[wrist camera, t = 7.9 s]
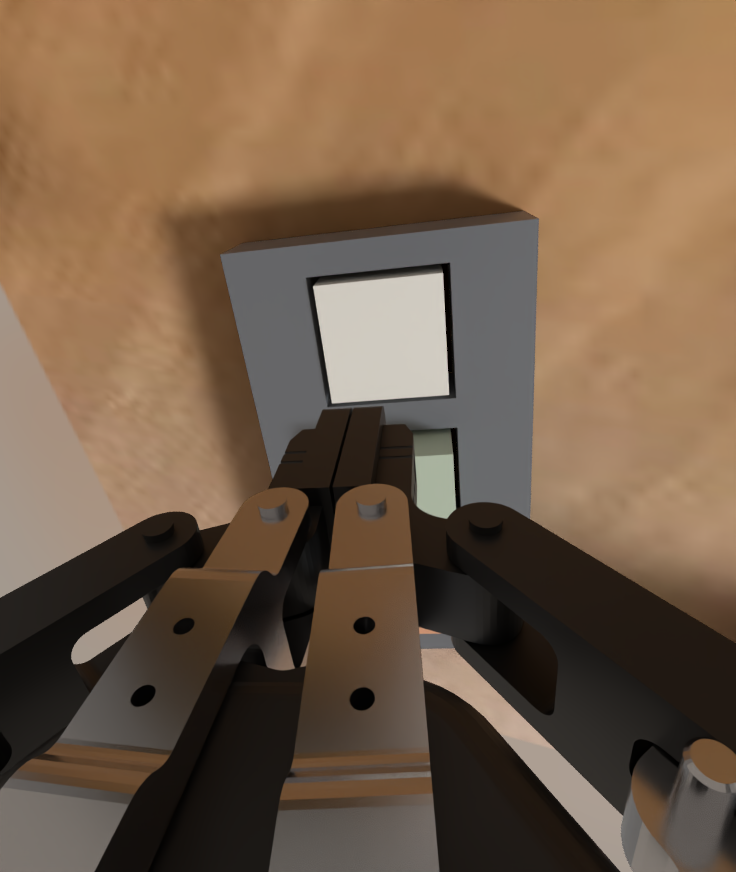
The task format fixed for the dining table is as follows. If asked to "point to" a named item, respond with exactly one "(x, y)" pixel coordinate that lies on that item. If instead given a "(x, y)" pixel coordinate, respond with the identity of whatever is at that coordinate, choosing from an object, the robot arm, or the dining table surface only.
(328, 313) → the offwhite button
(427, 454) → the sage button
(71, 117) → the dining table surface
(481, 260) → the button panel
